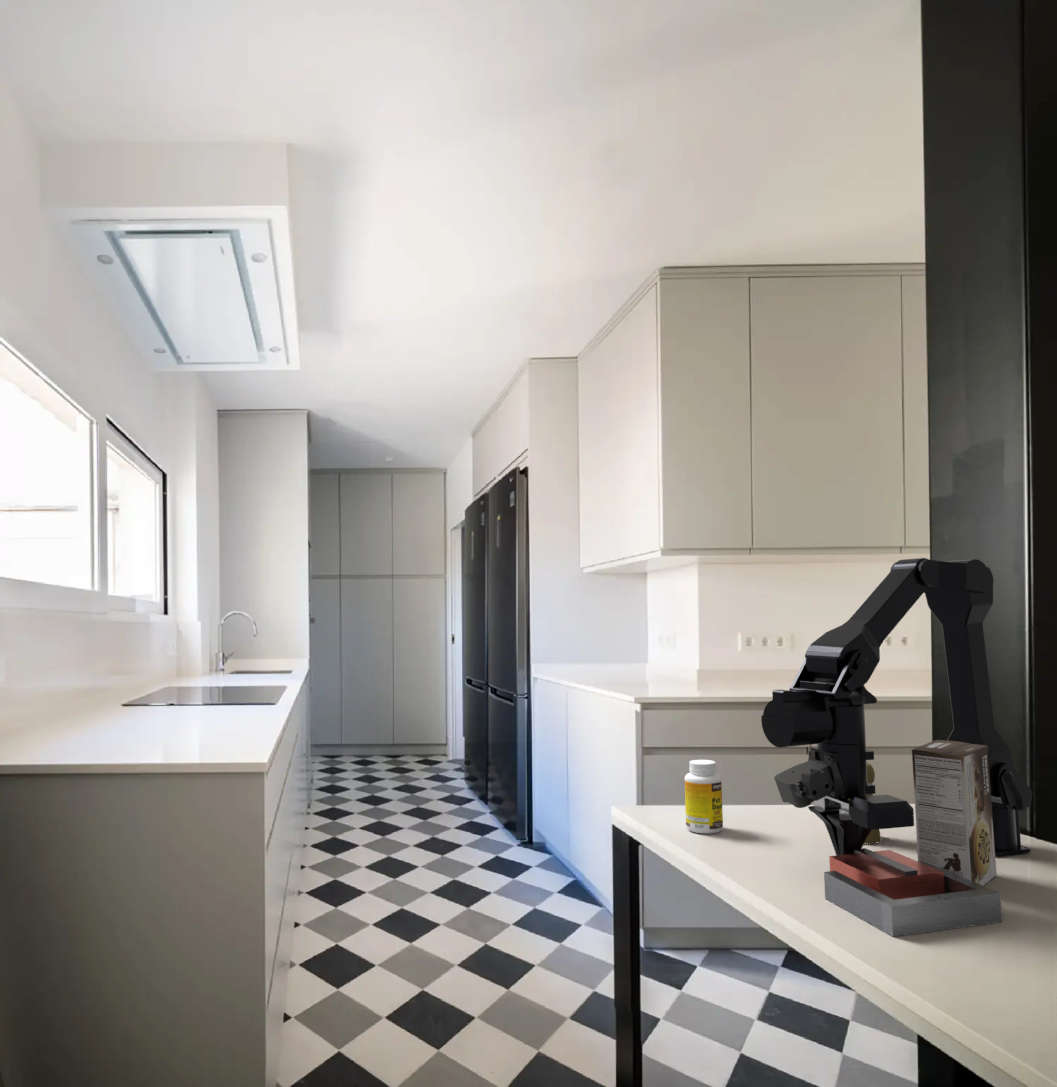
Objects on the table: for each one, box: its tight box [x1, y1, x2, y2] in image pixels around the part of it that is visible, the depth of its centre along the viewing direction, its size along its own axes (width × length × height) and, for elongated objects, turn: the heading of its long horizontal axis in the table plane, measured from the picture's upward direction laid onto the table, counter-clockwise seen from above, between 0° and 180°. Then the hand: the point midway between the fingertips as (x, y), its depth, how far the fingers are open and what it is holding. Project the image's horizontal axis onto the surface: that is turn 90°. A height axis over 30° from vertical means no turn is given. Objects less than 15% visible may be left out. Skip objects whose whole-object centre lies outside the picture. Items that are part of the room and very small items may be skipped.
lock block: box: [828, 847, 945, 900], centre depth 95 cm, size 8×9×4 cm
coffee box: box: [911, 739, 997, 886], centre depth 100 cm, size 9×6×16 cm
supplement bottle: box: [684, 759, 724, 835], centre depth 124 cm, size 6×6×10 cm
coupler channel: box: [823, 860, 1003, 938], centre depth 90 cm, size 14×12×3 cm
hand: (846, 869), depth 101 cm, fingers closed
